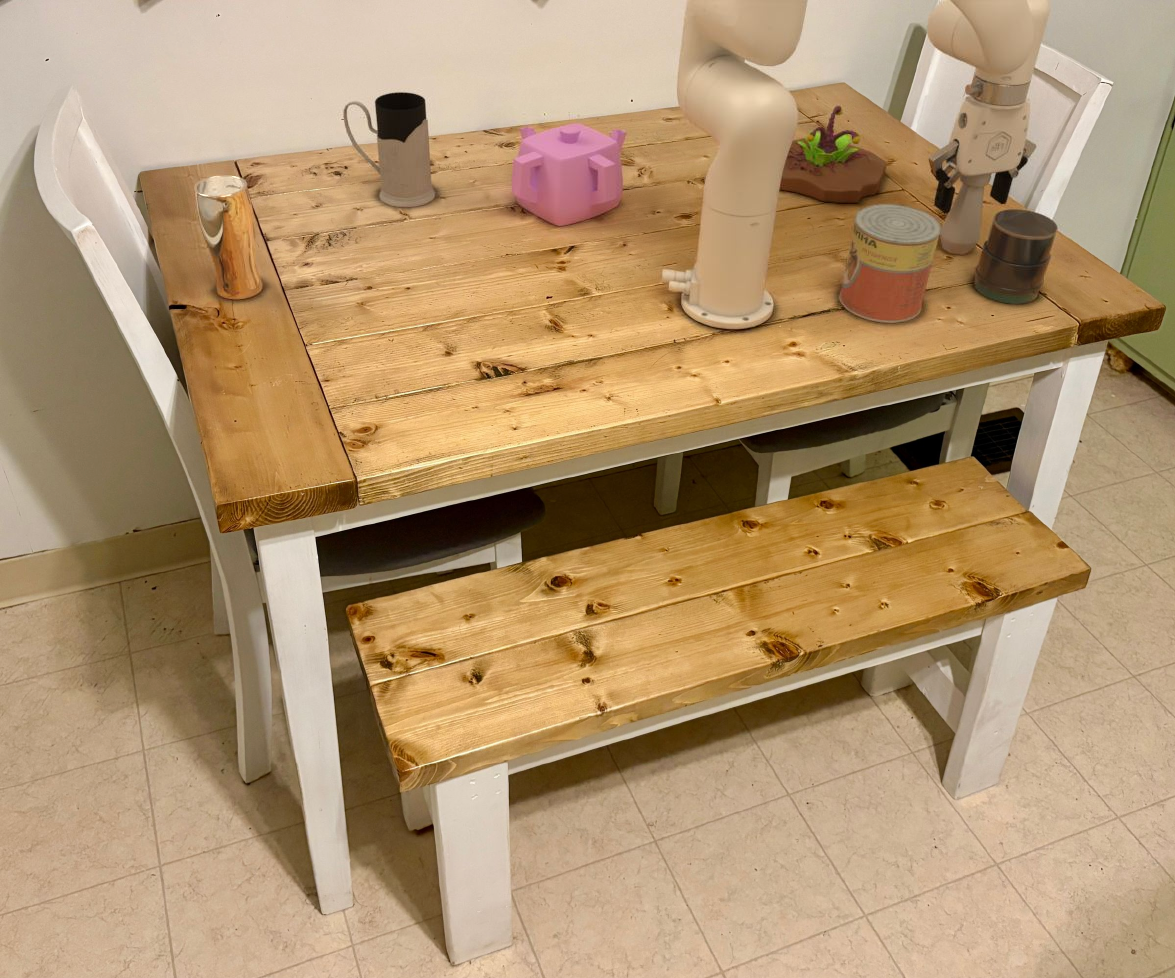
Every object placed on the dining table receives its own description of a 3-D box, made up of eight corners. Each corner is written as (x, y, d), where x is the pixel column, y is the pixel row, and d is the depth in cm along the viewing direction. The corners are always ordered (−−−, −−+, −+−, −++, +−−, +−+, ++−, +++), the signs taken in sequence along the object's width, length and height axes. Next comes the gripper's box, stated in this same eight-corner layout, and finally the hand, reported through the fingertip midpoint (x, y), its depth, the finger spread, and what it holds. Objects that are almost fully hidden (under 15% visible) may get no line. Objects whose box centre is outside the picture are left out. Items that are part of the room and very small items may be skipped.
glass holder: (420, 211, 174) (413, 115, 164) (338, 195, 177) (327, 101, 167) (444, 188, 180) (439, 95, 171) (364, 174, 183) (355, 82, 174)
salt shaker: (976, 259, 167) (999, 177, 159) (937, 255, 168) (958, 172, 160) (974, 242, 172) (996, 160, 163) (936, 237, 172) (956, 156, 164)
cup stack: (975, 301, 158) (994, 234, 151) (968, 269, 165) (986, 204, 158) (1044, 308, 157) (1066, 242, 150) (1034, 276, 164) (1055, 211, 157)
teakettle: (509, 225, 171) (508, 147, 163) (520, 178, 184) (519, 103, 176) (621, 231, 171) (625, 153, 163) (623, 183, 184) (628, 109, 176)
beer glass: (239, 306, 150) (219, 202, 140) (202, 291, 153) (180, 187, 143) (276, 285, 155) (260, 182, 145) (240, 271, 157) (221, 169, 148)
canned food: (834, 280, 161) (849, 202, 153) (912, 283, 161) (931, 205, 153) (845, 321, 152) (861, 240, 145) (928, 324, 152) (949, 244, 145)
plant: (900, 170, 191) (915, 105, 184) (857, 212, 178) (870, 144, 171) (793, 142, 199) (803, 79, 192) (744, 180, 186) (752, 113, 179)
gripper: (961, 106, 150) (933, 224, 161) (1068, 92, 154) (1034, 207, 165) (930, 86, 155) (905, 201, 166) (1034, 73, 160) (1003, 186, 171)
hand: (969, 204), depth 166 cm, fingers open, 9 cm apart
